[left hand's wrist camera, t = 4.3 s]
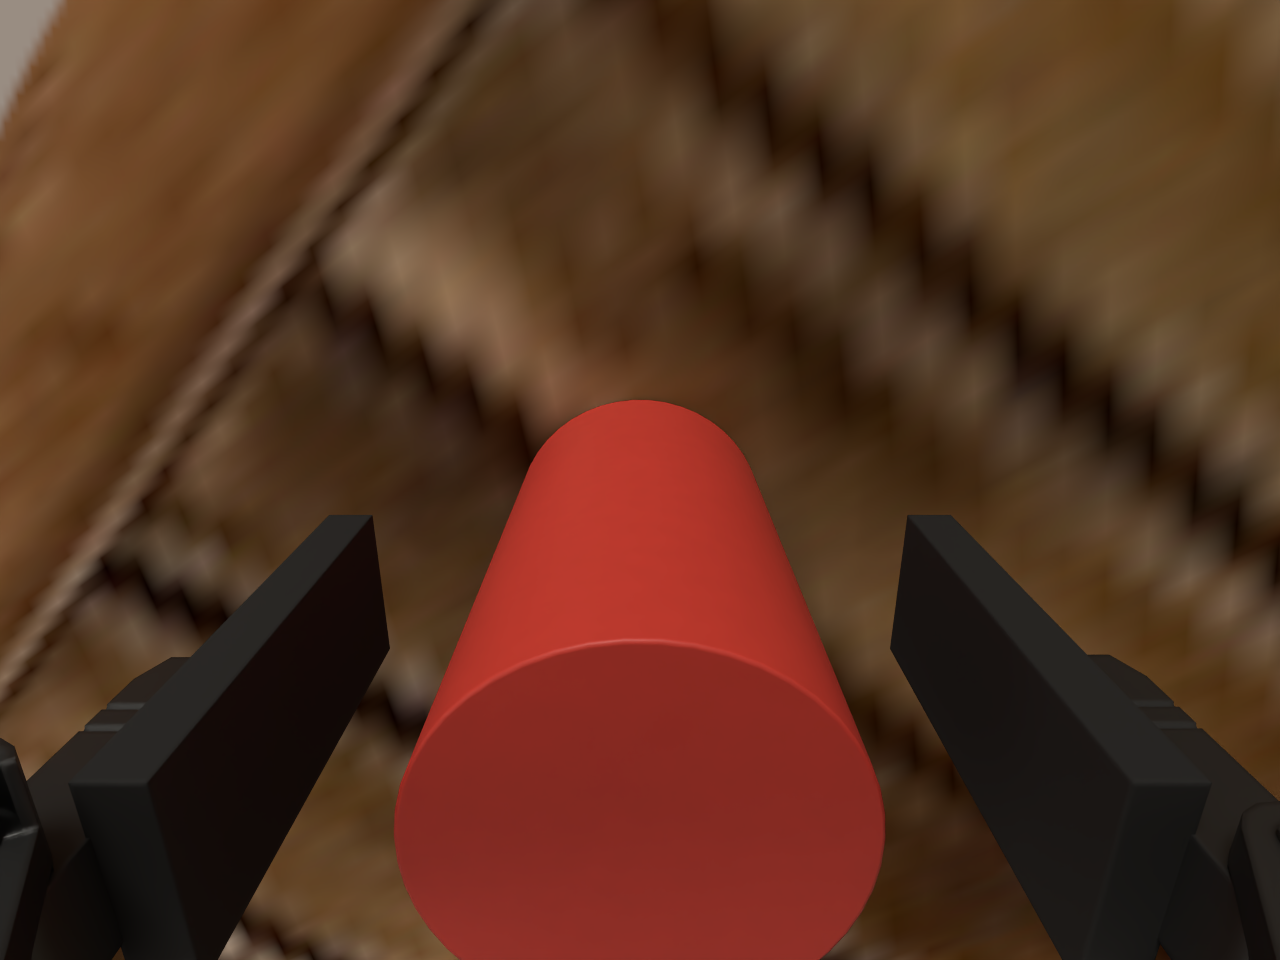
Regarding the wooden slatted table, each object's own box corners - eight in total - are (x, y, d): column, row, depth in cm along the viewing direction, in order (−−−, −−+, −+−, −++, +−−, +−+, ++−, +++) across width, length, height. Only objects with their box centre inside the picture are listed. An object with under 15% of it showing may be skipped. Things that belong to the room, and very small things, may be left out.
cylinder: (699, 357, 16) (774, 556, 7) (795, 565, 17) (952, 937, 9) (476, 462, 16) (293, 760, 8) (587, 652, 18) (540, 1073, 9)
